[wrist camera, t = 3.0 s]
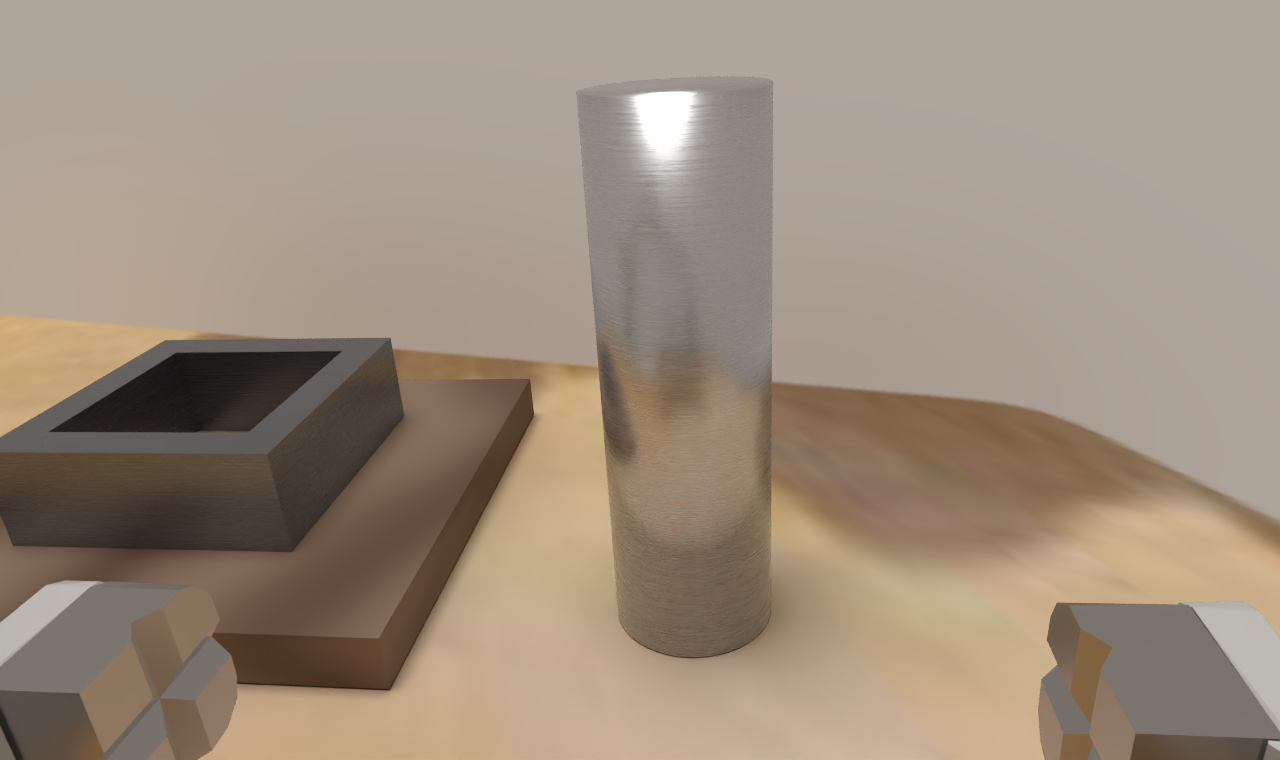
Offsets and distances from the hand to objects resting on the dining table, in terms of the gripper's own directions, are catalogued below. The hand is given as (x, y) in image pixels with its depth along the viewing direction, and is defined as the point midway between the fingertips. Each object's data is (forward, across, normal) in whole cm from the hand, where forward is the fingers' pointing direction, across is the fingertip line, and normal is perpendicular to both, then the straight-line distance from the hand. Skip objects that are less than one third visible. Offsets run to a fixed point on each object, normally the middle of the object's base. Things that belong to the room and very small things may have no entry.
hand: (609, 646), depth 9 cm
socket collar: (+16, +15, +7) cm, 23 cm away
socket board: (+16, +15, +9) cm, 24 cm away
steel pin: (+12, 0, +9) cm, 15 cm away
